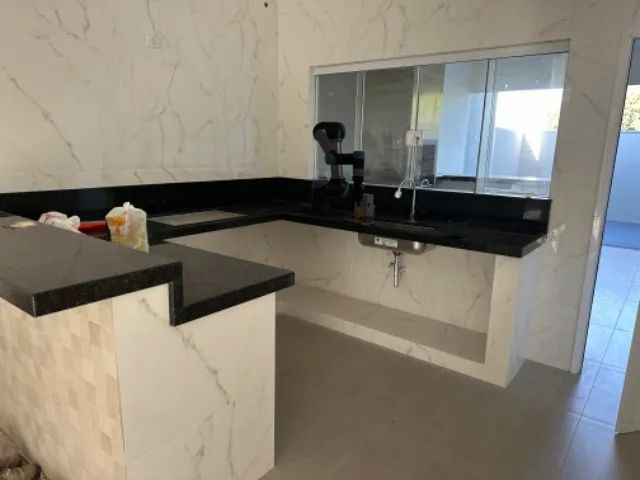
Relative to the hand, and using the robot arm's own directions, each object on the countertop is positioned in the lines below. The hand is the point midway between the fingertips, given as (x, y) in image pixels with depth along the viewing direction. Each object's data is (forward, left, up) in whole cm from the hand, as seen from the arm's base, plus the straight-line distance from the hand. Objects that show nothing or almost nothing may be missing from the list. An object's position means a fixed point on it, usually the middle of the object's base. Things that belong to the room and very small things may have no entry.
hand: (356, 211), depth 294 cm
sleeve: (+3, 0, -4) cm, 5 cm away
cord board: (+5, 0, -6) cm, 8 cm away
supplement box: (-13, +16, -6) cm, 22 cm away
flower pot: (+63, +24, -6) cm, 68 cm away
